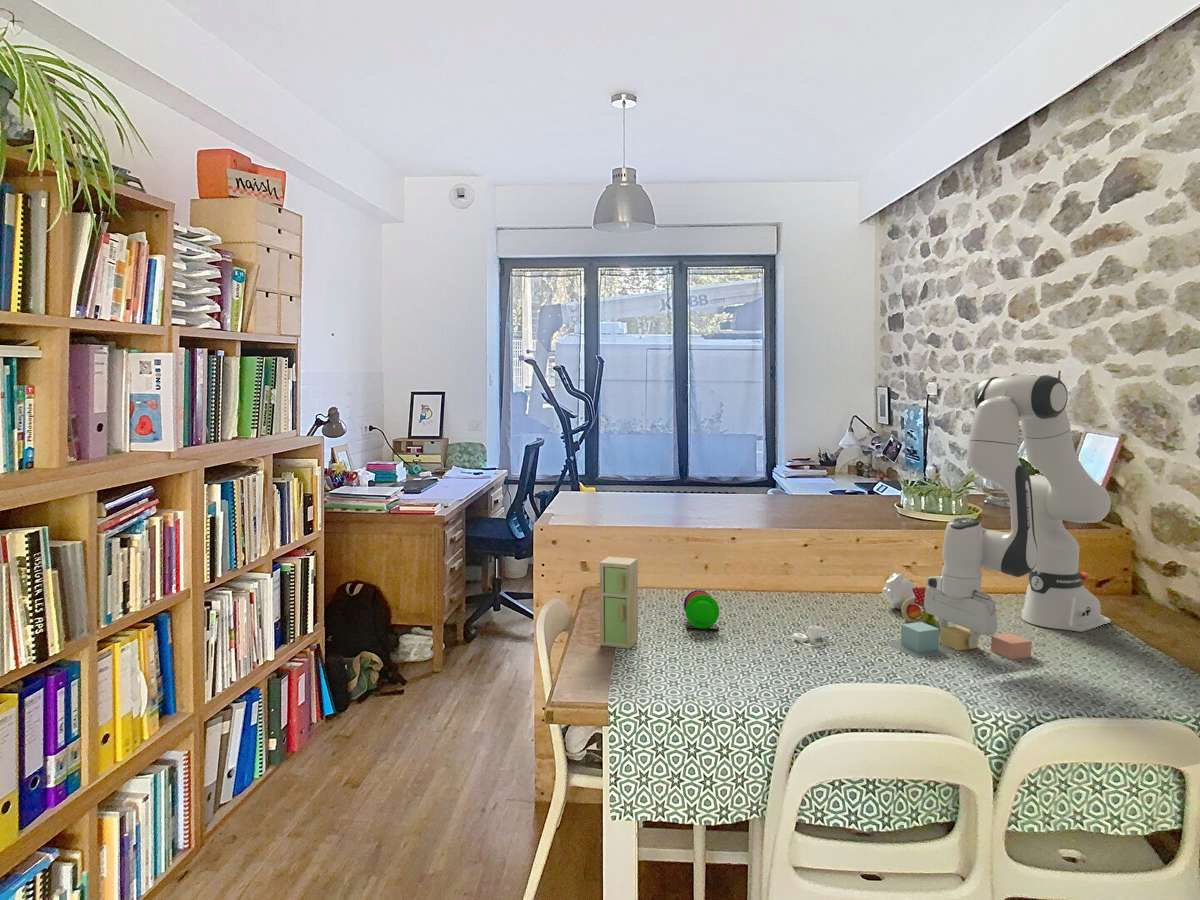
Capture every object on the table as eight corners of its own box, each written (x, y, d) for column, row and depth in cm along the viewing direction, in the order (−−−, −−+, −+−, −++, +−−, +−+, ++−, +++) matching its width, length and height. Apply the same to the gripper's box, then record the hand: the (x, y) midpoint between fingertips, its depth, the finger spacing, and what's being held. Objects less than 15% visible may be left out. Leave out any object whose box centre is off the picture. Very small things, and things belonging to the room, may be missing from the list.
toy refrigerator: (598, 646, 204) (598, 562, 202) (608, 637, 211) (608, 556, 209) (629, 650, 201) (629, 565, 199) (638, 641, 208) (638, 558, 206)
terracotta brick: (1010, 653, 200) (1011, 633, 200) (1030, 661, 195) (1031, 641, 194) (990, 656, 198) (991, 635, 198) (1010, 664, 193) (1011, 643, 192)
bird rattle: (913, 637, 218) (947, 625, 217) (897, 598, 217) (930, 586, 216) (907, 630, 224) (940, 618, 223) (891, 592, 224) (924, 580, 222)
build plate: (921, 641, 208) (922, 636, 208) (957, 657, 197) (957, 652, 197) (882, 646, 204) (882, 642, 204) (916, 663, 193) (916, 658, 193)
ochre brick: (958, 644, 206) (959, 625, 206) (977, 652, 201) (978, 632, 200) (939, 647, 204) (940, 627, 204) (957, 655, 199) (958, 635, 198)
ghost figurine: (887, 602, 243) (888, 568, 242) (921, 607, 238) (922, 573, 237) (877, 609, 236) (879, 574, 235) (912, 615, 230) (913, 579, 229)
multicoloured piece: (682, 625, 229) (687, 633, 214) (679, 590, 230) (683, 596, 215) (715, 622, 229) (722, 629, 214) (712, 587, 229) (718, 592, 214)
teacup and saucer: (788, 642, 209) (789, 626, 208) (804, 635, 215) (805, 619, 214) (820, 650, 203) (821, 634, 202) (836, 642, 209) (836, 627, 208)
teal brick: (920, 641, 205) (921, 621, 204) (938, 649, 199) (939, 629, 198) (900, 644, 202) (901, 624, 202) (918, 652, 197) (918, 631, 196)
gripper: (1005, 595, 192) (1002, 654, 194) (941, 574, 211) (938, 628, 213) (984, 598, 190) (981, 657, 191) (921, 577, 209) (918, 630, 211)
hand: (958, 641), depth 202 cm, fingers open, 7 cm apart
